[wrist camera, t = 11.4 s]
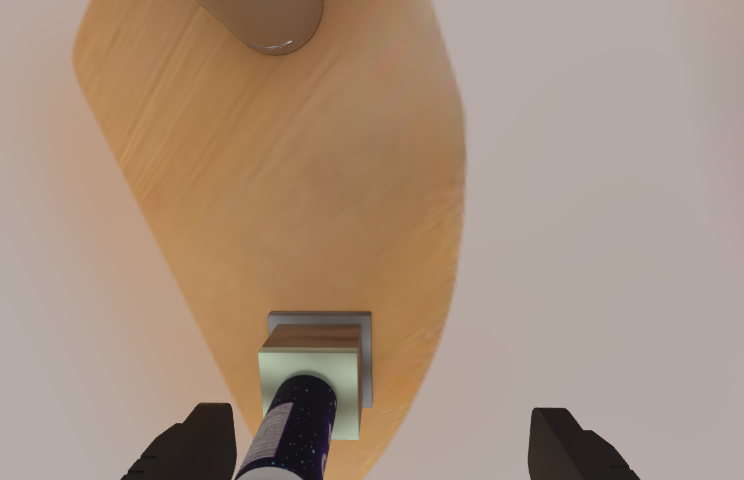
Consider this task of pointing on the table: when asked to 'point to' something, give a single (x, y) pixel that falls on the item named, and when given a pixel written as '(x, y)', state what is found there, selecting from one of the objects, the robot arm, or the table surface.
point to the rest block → (321, 360)
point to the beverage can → (293, 433)
